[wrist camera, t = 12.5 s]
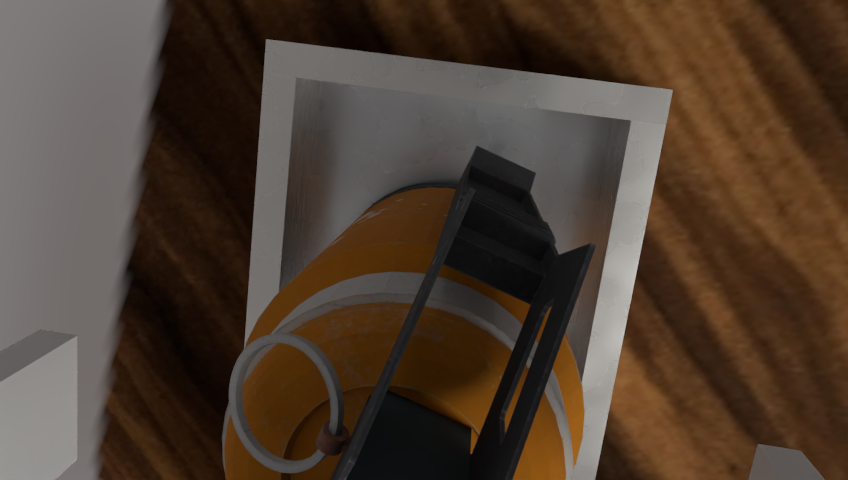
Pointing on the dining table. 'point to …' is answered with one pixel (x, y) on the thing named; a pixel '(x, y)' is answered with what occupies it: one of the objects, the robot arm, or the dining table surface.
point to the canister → (419, 345)
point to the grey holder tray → (458, 172)
